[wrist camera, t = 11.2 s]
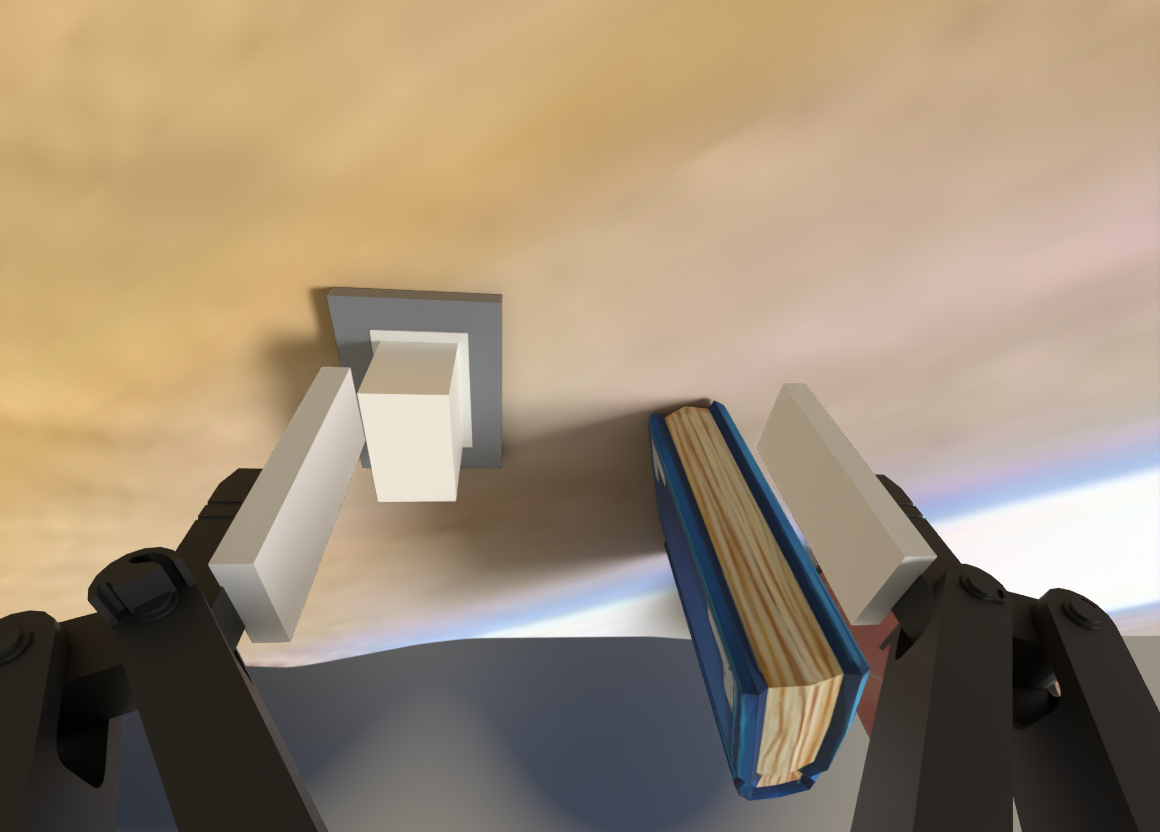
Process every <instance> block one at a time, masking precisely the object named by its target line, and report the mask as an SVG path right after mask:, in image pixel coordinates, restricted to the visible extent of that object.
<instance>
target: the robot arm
mask: <svg viewBox="0 0 1160 832" xmlns="http://www.w3.org/2000/svg"><path fill="white" fill-rule="evenodd" d="M364 443H365V437H364V432H363V427H362V422H361V417H360V412H359V408H358V403H357V398H356V393H355V388H354V383H353V379H352V374H351V369H350V368H349V367H321V369H320V371H319V372H318V374H317V376H316V377H315V379H314V381H313V383H312V384H311V386H310V388H309V390H308V391H307V393H306V395H305V397H304V398H303V400H302V402H301V404H300V405H299V407H298V409H297V411H296V412H295V414H294V416H293V417H292V419H291V421H290V423H289V424H288V426H287V428H286V430H285V431H284V433H283V435H282V437H281V438H280V440H279V442H278V444H277V445H276V447H275V449H274V451H273V452H272V454H271V456H270V457H269V459H268V461H267V463H266V464H265V466H264V468H263V469H249V468H239V469H237V470H236V471H235V472H234V473H232V474H231V475H230V476H228V477H227V478H226V479H225V480H223V481H222V482H221V483H220V484H219V485H218V487H217V488H216V490H215V491H214V493H213V494H212V496H211V497H210V499H209V500H208V505H205V507H204V508H203V510H202V511H201V513H200V514H199V516H198V520H195V522H194V523H193V525H192V526H191V528H190V530H189V531H188V533H187V534H186V536H185V537H184V539H183V540H182V542H181V543H180V545H179V546H178V548H177V550H176V551H174V550H171V549H167V548H163V547H155V548H144V549H141V550H138V551H135V552H132V553H129V554H126V555H124V556H123V557H121V558H119V559H117V560H115V561H114V562H112V563H110V564H109V565H108V566H107V567H106V568H104V569H103V570H102V571H101V572H100V573H99V574H98V575H97V576H96V577H95V579H94V580H93V582H92V583H91V585H90V587H89V588H88V601H89V603H90V604H91V605H92V606H93V607H94V608H95V610H96V611H97V613H93V614H89V615H86V616H82V617H78V618H74V619H70V620H67V621H63V622H59V623H58V622H57V621H56V620H55V619H54V618H53V617H51V616H50V615H49V614H47V613H46V612H42V611H31V610H30V611H25V612H20V613H15V614H11V615H8V616H6V617H3V618H1V619H0V832H115V831H114V830H115V815H116V799H117V783H118V767H119V751H120V735H121V719H122V715H123V714H126V713H129V712H132V711H135V710H138V711H139V714H140V717H141V720H142V723H143V726H144V729H145V732H146V735H147V738H148V741H149V744H150V747H151V750H152V753H153V756H154V759H155V762H156V765H157V768H158V771H159V774H160V777H161V780H162V783H163V786H164V789H165V792H166V795H167V798H168V801H169V804H170V807H171V810H172V813H173V816H174V819H175V822H176V825H177V828H178V831H179V832H328V830H327V828H326V826H325V824H324V822H323V820H322V819H321V816H320V814H319V812H318V810H317V808H316V806H315V804H314V802H313V800H312V798H311V796H310V794H309V792H308V790H307V788H306V786H305V784H304V782H303V780H302V778H301V776H300V774H299V772H298V770H297V768H296V766H295V764H294V762H293V760H292V758H291V756H290V754H289V752H288V750H287V748H286V746H285V744H284V742H283V740H282V738H281V736H280V734H279V732H278V730H277V728H276V726H275V724H274V722H273V720H272V718H271V716H270V714H269V712H268V710H267V708H266V706H265V704H264V702H263V700H262V698H261V696H260V694H259V692H258V690H257V688H256V686H255V684H254V682H253V680H252V678H251V676H250V674H249V672H248V670H247V668H246V666H245V664H244V662H243V660H242V658H241V656H240V654H239V652H238V650H237V649H236V647H237V645H238V642H239V640H240V638H241V636H242V634H243V631H244V629H245V631H246V633H247V634H248V636H249V638H250V640H251V642H252V643H271V642H291V639H292V636H293V634H294V631H295V628H296V626H297V623H298V620H299V618H300V615H301V612H302V610H303V607H304V604H305V602H306V599H307V596H308V593H309V591H310V588H311V585H312V583H313V580H314V577H315V575H316V572H317V569H318V567H319V564H320V561H321V559H322V556H323V553H324V551H325V548H326V545H327V542H328V540H329V537H330V534H331V532H332V529H333V526H334V524H335V521H336V518H337V516H338V513H339V510H340V508H341V505H342V502H343V500H344V497H345V494H346V491H347V489H348V486H349V483H350V481H351V478H352V475H353V473H354V470H355V467H356V465H357V462H358V459H359V457H360V454H361V451H362V449H363V446H364ZM757 450H758V452H759V454H760V456H761V458H762V460H763V461H764V463H765V465H766V467H767V469H768V471H769V473H770V475H771V476H772V478H773V480H774V482H775V484H776V486H777V488H778V489H779V491H780V493H781V495H782V497H783V499H784V501H785V502H786V504H787V506H788V508H789V510H790V512H791V514H792V516H793V517H794V519H795V521H796V523H797V525H798V527H799V529H800V530H801V532H802V534H803V536H804V538H805V540H806V542H807V544H808V545H809V547H810V549H811V551H812V553H813V555H814V557H815V558H816V560H817V562H818V564H819V566H820V568H821V570H822V571H823V573H824V575H825V577H826V579H827V581H828V583H829V585H830V586H831V588H832V590H833V592H834V594H835V596H836V598H837V599H838V601H839V603H840V605H841V607H842V609H843V611H844V613H845V614H846V616H847V618H848V620H849V622H850V624H851V625H879V624H880V623H881V622H882V621H883V620H884V619H885V617H886V616H887V615H888V614H889V613H890V612H891V611H892V612H893V614H894V615H895V617H896V619H897V620H898V622H899V624H898V625H897V626H896V627H895V628H894V629H893V630H892V632H891V633H890V634H889V635H888V636H887V637H886V638H885V639H884V641H883V642H882V643H881V645H880V646H879V649H881V650H884V649H885V648H886V647H887V646H888V645H890V647H889V652H888V657H887V662H886V666H885V671H884V676H883V680H882V685H881V690H880V695H879V699H878V704H877V709H876V713H875V718H874V723H873V727H872V732H871V737H870V742H869V747H868V751H867V756H866V760H865V766H864V770H863V775H862V780H861V784H860V789H859V793H858V798H857V803H856V808H855V812H854V817H853V822H852V827H851V831H850V832H1013V798H1014V802H1015V805H1016V809H1017V813H1018V817H1019V821H1020V825H1021V829H1022V832H1160V712H1159V710H1158V708H1157V706H1156V704H1155V702H1154V700H1153V698H1152V696H1151V694H1150V692H1149V690H1148V688H1147V686H1146V684H1145V682H1144V680H1143V678H1142V676H1141V674H1140V672H1139V670H1138V668H1137V666H1136V664H1135V662H1134V660H1133V658H1132V657H1131V655H1130V652H1129V650H1128V648H1127V647H1126V645H1125V643H1124V641H1123V639H1122V637H1121V635H1120V633H1119V631H1118V629H1117V627H1116V625H1115V624H1114V622H1113V621H1112V620H1111V618H1110V617H1109V615H1108V614H1106V613H1105V612H1104V611H1103V610H1102V609H1101V608H1100V607H1099V606H1098V605H1096V604H1095V603H1094V602H1092V601H1090V600H1089V599H1087V598H1086V597H1084V596H1082V595H1080V594H1078V593H1075V592H1073V591H1071V590H1066V589H1061V588H1055V589H1050V590H1049V591H1047V592H1046V593H1045V594H1044V595H1043V596H1042V597H1041V598H1040V599H1035V598H1031V597H1027V596H1024V595H1020V594H1016V593H1012V592H1008V591H1006V589H1005V588H1004V587H1003V585H1002V584H1001V583H1000V582H998V581H997V580H996V579H995V578H994V577H993V576H991V575H990V574H988V573H986V572H985V571H983V570H981V569H980V568H977V567H974V566H971V565H968V564H961V563H960V561H959V560H958V559H957V558H956V556H955V555H954V554H953V553H952V551H951V550H950V549H949V548H948V546H947V545H946V544H945V543H944V541H943V540H942V539H941V538H940V536H939V535H938V534H937V533H936V531H935V530H934V529H933V528H932V526H931V525H930V524H929V523H928V521H927V520H926V519H923V515H922V514H921V512H920V511H919V510H918V509H917V507H916V506H913V502H912V501H911V500H910V499H909V497H908V496H907V495H906V494H905V492H904V491H903V490H902V489H901V488H900V487H899V486H898V485H896V484H895V483H894V482H893V481H891V480H890V479H889V478H887V477H886V476H885V475H875V474H874V473H873V472H872V470H871V469H870V468H869V466H868V465H867V464H866V462H865V461H864V460H863V458H862V457H861V456H860V455H859V453H858V452H857V451H856V449H855V448H854V447H853V445H852V444H851V443H850V441H849V440H848V439H847V437H846V436H845V435H844V434H843V432H842V431H841V430H840V428H839V427H838V426H837V424H836V423H835V422H834V420H833V419H832V418H831V417H830V415H829V414H828V413H827V411H826V410H825V409H824V407H823V406H822V405H821V403H820V402H819V401H818V399H817V398H816V397H815V396H814V394H813V393H812V392H811V390H810V389H809V388H808V386H807V385H806V384H793V383H783V385H782V387H781V390H780V392H779V394H778V397H777V399H776V402H775V404H774V407H773V409H772V411H771V414H770V416H769V419H768V421H767V423H766V426H765V428H764V431H763V433H762V436H761V438H760V440H759V443H758V445H757ZM1056 682H1058V684H1059V688H1060V695H1059V693H1058V691H1057V689H1056V686H1055V683H1056Z"/></svg>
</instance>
